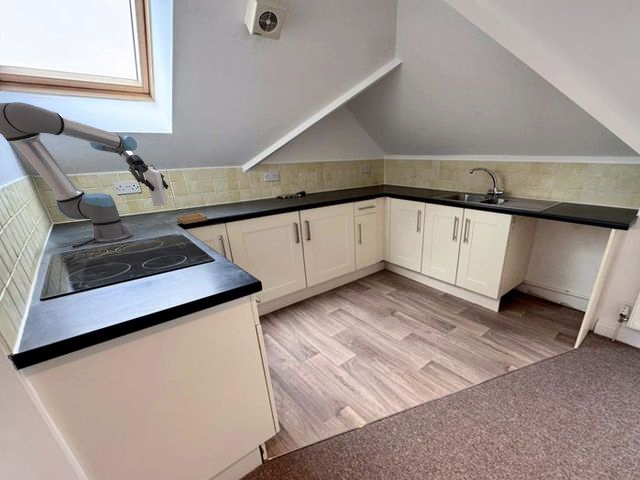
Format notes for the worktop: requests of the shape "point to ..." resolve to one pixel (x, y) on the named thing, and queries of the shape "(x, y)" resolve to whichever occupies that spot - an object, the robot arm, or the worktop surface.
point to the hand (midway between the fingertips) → (160, 188)
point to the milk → (156, 187)
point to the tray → (192, 218)
